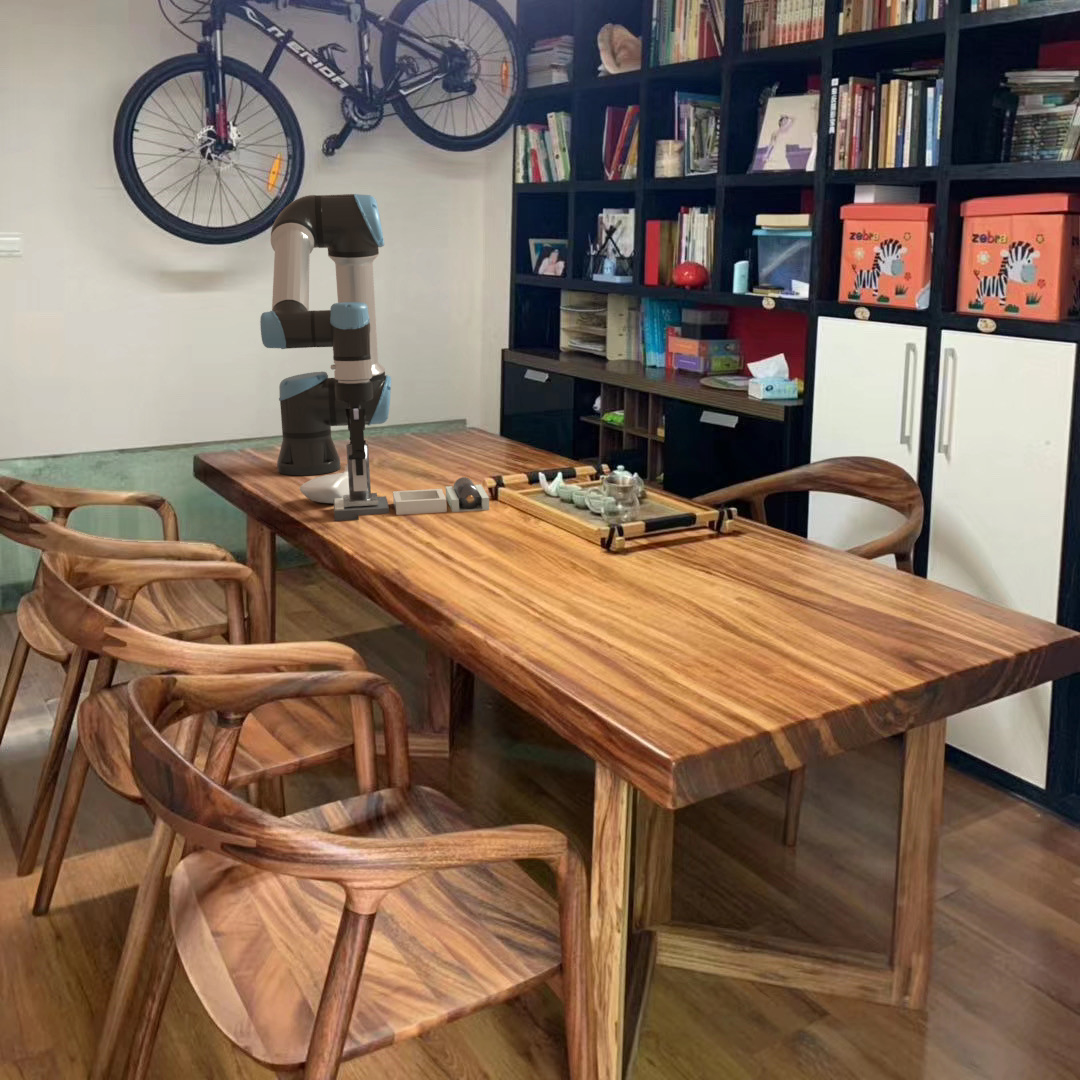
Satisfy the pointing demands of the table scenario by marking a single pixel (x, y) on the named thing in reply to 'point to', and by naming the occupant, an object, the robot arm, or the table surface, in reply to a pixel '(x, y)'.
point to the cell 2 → (467, 493)
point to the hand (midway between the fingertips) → (359, 483)
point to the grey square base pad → (359, 509)
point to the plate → (360, 501)
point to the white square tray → (419, 501)
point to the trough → (457, 507)
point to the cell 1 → (353, 494)
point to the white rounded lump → (327, 487)
